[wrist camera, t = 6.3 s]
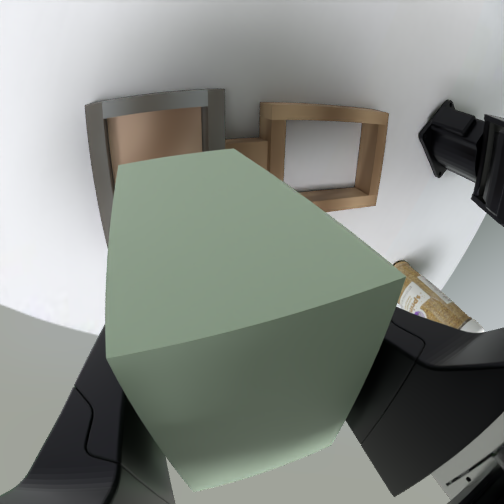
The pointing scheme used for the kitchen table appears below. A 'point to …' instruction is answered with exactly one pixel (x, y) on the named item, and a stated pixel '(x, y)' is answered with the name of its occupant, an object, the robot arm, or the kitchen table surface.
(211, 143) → the joined double square frame
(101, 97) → the kitchen table surface
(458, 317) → the sprinkles bottle
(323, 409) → the sage peg
